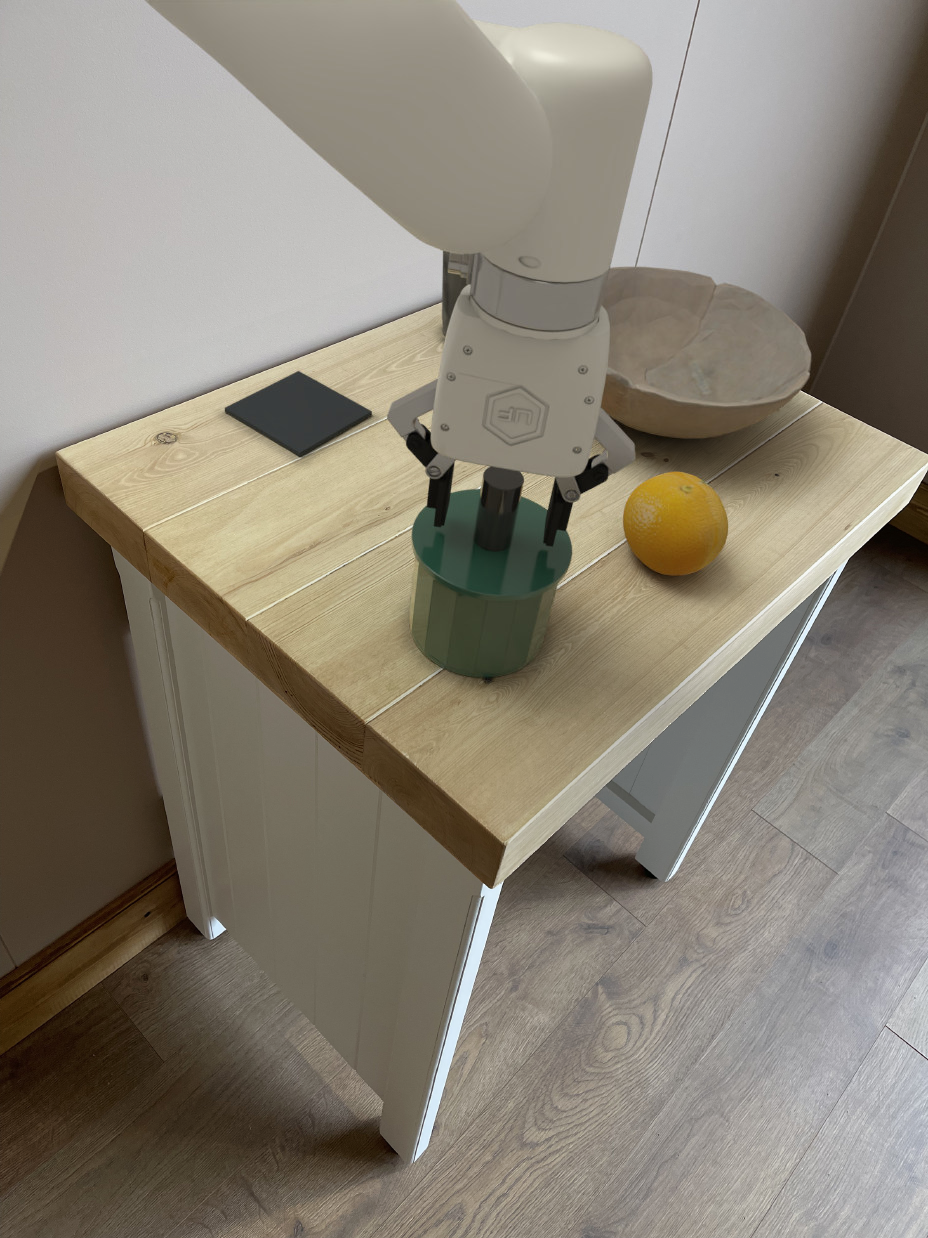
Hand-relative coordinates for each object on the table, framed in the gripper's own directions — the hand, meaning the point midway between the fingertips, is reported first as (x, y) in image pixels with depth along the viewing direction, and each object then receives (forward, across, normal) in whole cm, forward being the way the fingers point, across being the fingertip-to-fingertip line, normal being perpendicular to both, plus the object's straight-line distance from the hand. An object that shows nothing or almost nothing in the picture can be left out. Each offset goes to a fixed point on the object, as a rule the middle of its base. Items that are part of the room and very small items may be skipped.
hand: (495, 522), depth 65 cm
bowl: (+11, +15, +36) cm, 41 cm away
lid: (+2, 0, 0) cm, 2 cm away
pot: (+11, 0, 0) cm, 11 cm away
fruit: (+11, +15, +12) cm, 22 cm away
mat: (+11, -20, +24) cm, 34 cm away
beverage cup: (+11, -7, +46) cm, 47 cm away
